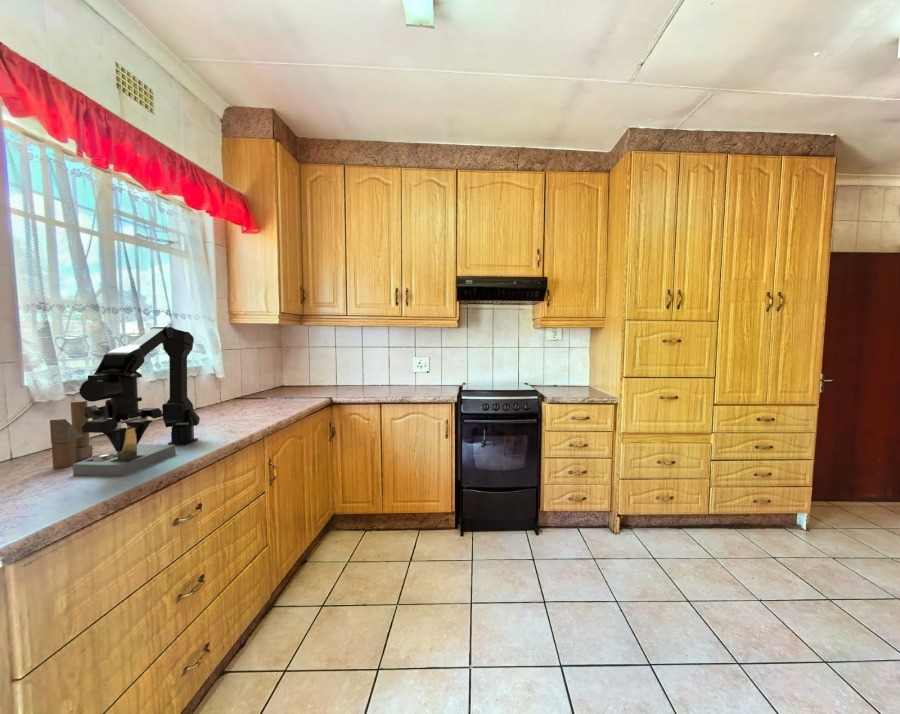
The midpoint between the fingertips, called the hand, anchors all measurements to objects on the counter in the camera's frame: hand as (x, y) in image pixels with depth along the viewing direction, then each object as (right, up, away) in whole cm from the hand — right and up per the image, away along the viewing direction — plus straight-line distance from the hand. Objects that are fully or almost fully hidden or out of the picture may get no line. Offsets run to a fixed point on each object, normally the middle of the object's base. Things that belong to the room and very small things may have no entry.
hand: (126, 448), depth 101 cm
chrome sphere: (-7, -6, 0) cm, 9 cm away
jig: (-3, -6, +4) cm, 8 cm away
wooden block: (-21, -6, +6) cm, 23 cm away
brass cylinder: (0, -2, 0) cm, 2 cm away
